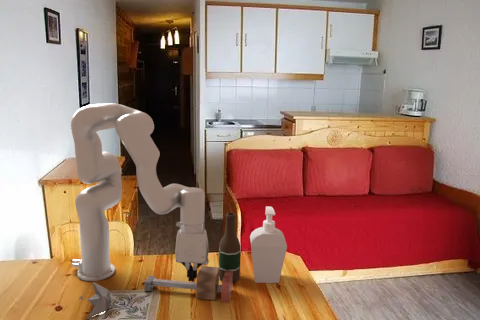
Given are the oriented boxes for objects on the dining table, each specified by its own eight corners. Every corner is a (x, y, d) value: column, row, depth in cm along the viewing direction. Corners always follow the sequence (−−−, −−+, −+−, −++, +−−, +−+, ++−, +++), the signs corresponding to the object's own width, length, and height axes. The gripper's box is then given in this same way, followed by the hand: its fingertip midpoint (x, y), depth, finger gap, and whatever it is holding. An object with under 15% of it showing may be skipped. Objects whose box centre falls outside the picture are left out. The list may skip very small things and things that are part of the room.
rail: (142, 294, 129) (142, 274, 128) (150, 282, 137) (150, 263, 135) (228, 302, 126) (229, 282, 125) (232, 289, 134) (232, 270, 133)
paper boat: (110, 316, 115) (76, 313, 112) (105, 326, 119) (73, 323, 116) (115, 278, 124) (84, 275, 120) (110, 288, 128) (80, 285, 124)
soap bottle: (281, 270, 149) (285, 204, 143) (284, 284, 139) (289, 214, 133) (248, 269, 148) (251, 203, 143) (249, 283, 138) (252, 213, 133)
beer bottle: (237, 284, 138) (239, 218, 133) (215, 281, 139) (217, 216, 134) (241, 274, 145) (244, 211, 140) (221, 271, 146) (222, 209, 142)
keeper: (196, 298, 128) (196, 276, 126) (200, 286, 135) (201, 265, 133) (214, 299, 127) (215, 277, 125) (218, 288, 134) (219, 267, 132)
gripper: (166, 229, 124) (166, 283, 128) (213, 232, 122) (212, 287, 126) (172, 220, 131) (172, 272, 135) (217, 224, 130) (216, 276, 133)
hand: (191, 279), depth 130 cm, fingers closed
